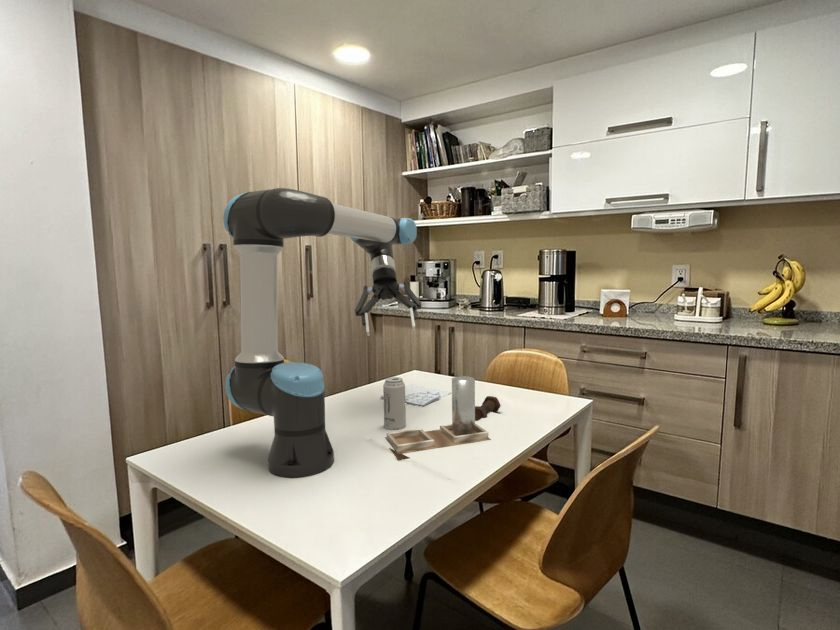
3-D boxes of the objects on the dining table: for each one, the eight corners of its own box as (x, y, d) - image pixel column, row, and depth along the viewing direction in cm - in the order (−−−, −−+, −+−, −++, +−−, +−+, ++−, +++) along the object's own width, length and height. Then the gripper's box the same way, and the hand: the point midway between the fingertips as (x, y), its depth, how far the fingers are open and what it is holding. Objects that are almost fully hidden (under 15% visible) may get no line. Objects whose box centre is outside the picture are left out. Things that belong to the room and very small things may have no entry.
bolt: (470, 431, 138) (490, 415, 151) (484, 425, 135) (503, 409, 148) (460, 413, 139) (481, 398, 152) (474, 406, 136) (494, 392, 149)
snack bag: (378, 400, 166) (378, 394, 166) (412, 387, 183) (412, 382, 182) (422, 409, 155) (422, 402, 155) (455, 394, 172) (455, 389, 171)
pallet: (398, 460, 114) (398, 448, 113) (384, 442, 125) (384, 431, 125) (491, 445, 122) (491, 433, 122) (470, 430, 133) (470, 419, 133)
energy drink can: (380, 431, 134) (378, 379, 132) (398, 426, 137) (396, 375, 136) (392, 437, 129) (390, 383, 127) (410, 432, 133) (409, 379, 131)
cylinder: (463, 440, 122) (463, 383, 120) (447, 434, 126) (446, 378, 125) (479, 434, 125) (479, 379, 124) (463, 428, 130) (463, 375, 128)
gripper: (422, 275, 156) (432, 332, 145) (346, 284, 154) (350, 342, 143) (422, 262, 149) (433, 320, 139) (343, 270, 147) (347, 330, 137)
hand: (391, 331), depth 141 cm, fingers open, 13 cm apart
